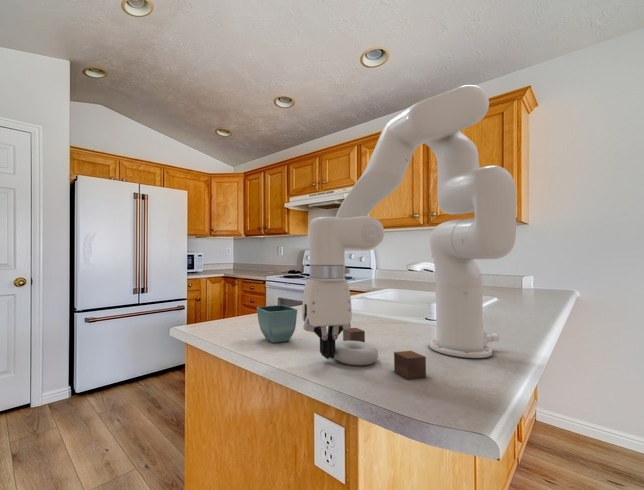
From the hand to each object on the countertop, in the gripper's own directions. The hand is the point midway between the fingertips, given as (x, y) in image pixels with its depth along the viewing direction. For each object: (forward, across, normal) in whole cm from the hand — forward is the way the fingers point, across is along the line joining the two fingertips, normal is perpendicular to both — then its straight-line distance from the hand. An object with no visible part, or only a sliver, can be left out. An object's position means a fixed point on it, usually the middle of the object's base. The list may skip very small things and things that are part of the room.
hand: (327, 356), depth 70 cm
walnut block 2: (+1, -12, +10) cm, 16 cm away
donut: (+1, -6, 0) cm, 7 cm away
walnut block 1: (+1, -12, -10) cm, 16 cm away
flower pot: (+2, +6, -20) cm, 21 cm away
